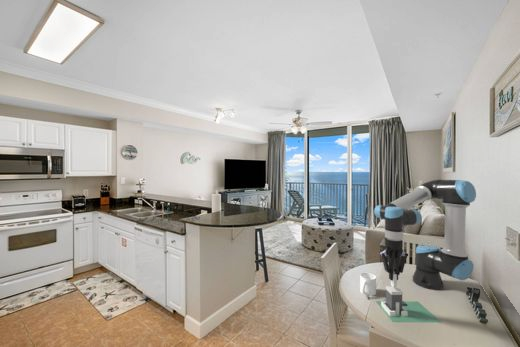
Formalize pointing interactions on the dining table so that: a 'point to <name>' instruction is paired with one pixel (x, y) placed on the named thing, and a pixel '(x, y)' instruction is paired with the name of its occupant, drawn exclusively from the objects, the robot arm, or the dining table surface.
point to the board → (412, 313)
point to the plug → (394, 299)
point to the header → (393, 313)
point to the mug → (367, 284)
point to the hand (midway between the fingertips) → (393, 286)
